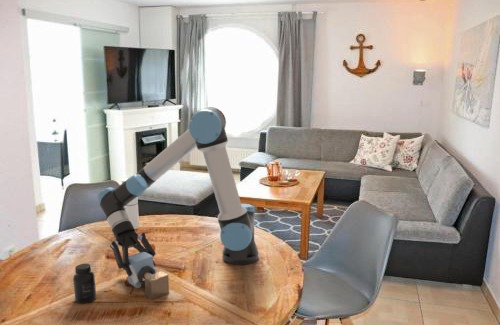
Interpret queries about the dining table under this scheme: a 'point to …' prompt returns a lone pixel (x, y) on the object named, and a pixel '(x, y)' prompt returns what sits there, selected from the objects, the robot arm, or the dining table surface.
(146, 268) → the ring
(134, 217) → the cylindrical container
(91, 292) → the supplement bottle
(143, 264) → the sleeve
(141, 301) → the dining table surface
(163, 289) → the pipe rig
